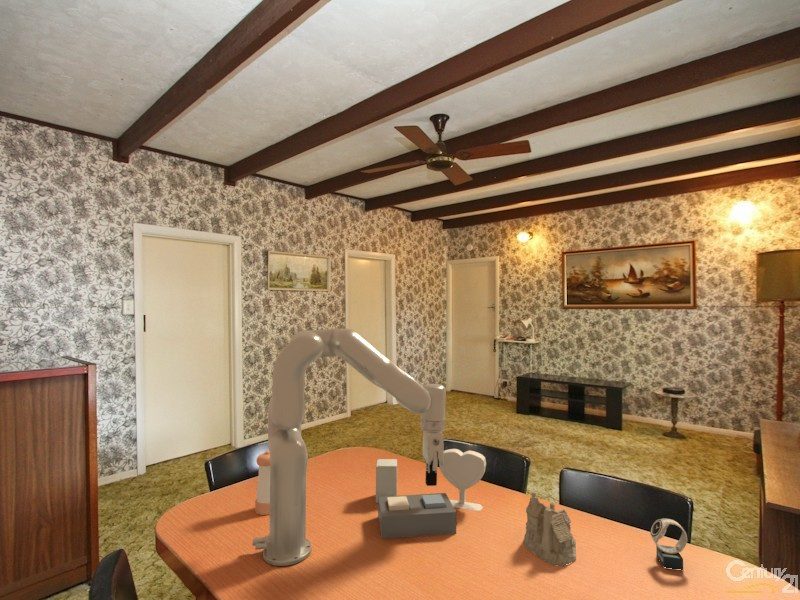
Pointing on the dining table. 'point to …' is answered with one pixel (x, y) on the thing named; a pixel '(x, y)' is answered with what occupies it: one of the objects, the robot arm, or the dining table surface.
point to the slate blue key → (433, 501)
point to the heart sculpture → (463, 473)
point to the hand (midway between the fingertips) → (431, 484)
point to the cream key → (397, 503)
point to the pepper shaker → (263, 485)
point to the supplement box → (386, 478)
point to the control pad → (416, 518)
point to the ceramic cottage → (549, 533)
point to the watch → (668, 553)
